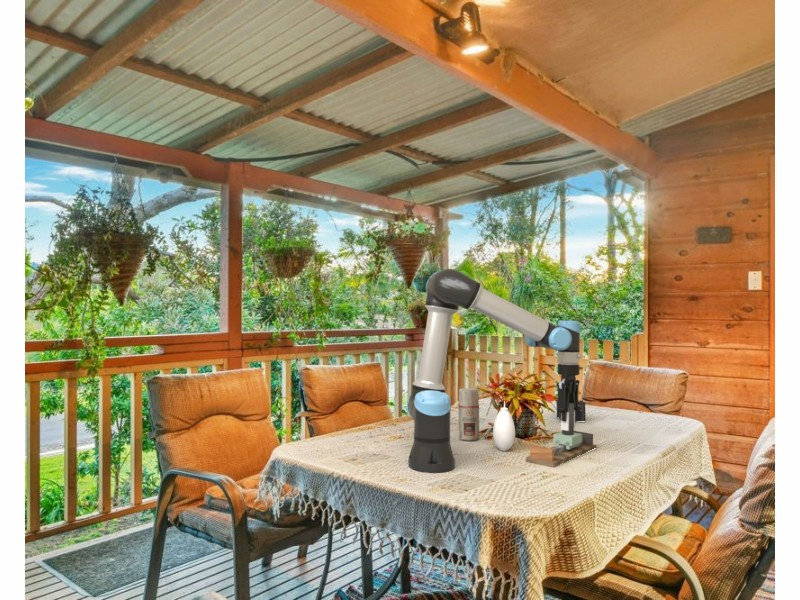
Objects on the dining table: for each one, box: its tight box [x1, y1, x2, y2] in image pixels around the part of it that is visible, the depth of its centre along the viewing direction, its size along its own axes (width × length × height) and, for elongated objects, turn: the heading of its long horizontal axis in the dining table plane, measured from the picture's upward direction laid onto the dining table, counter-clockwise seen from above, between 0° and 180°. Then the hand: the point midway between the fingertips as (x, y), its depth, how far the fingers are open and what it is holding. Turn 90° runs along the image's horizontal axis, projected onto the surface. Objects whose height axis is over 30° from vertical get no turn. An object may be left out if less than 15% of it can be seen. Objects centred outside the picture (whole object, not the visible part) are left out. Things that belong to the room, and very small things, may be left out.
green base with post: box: [552, 402, 582, 449], centre depth 199 cm, size 8×7×15 cm
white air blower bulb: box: [492, 400, 516, 452], centre depth 202 cm, size 8×8×18 cm
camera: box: [555, 399, 587, 422], centre depth 257 cm, size 14×11×10 cm
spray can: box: [458, 387, 480, 441], centre depth 218 cm, size 8×8×20 cm
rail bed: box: [525, 430, 598, 468], centre depth 197 cm, size 34×10×6 cm, turn 138°
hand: (567, 428), depth 199 cm, fingers closed on green base with post, 4 cm apart
